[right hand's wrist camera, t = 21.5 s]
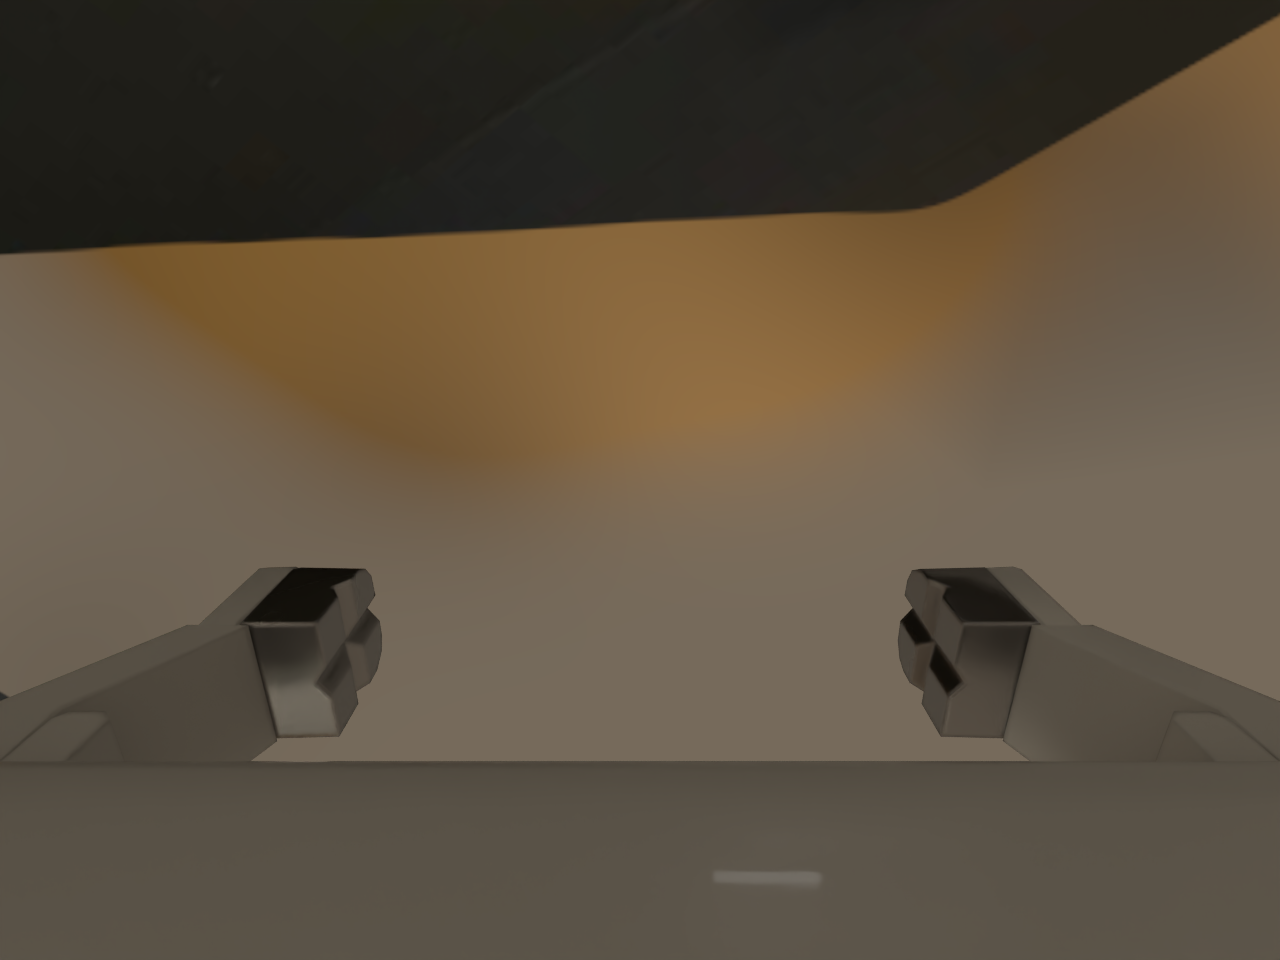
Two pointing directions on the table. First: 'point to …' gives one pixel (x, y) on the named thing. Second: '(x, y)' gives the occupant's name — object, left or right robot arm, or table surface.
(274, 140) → the table surface
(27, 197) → the table surface
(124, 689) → the right robot arm
